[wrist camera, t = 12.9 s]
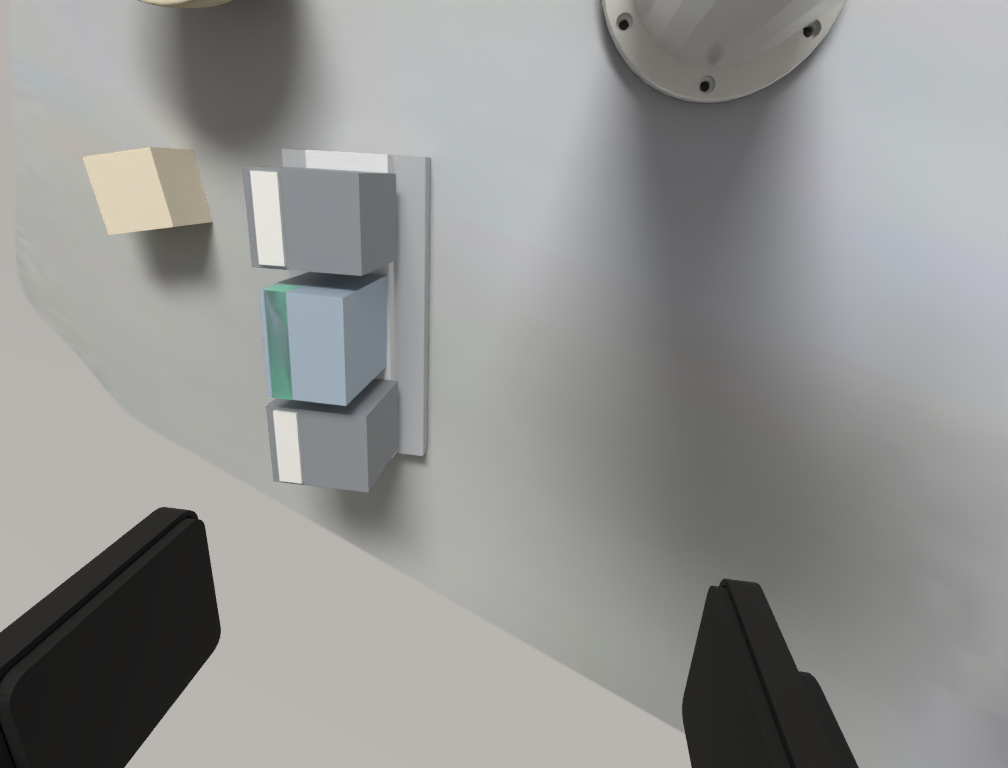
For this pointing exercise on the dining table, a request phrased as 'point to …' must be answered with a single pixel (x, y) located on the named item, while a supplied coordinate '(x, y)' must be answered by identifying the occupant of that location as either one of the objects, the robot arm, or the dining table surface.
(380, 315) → the module
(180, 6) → the olive bowl
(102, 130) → the dining table surface
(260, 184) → the rail fixture
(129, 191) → the beige cube
